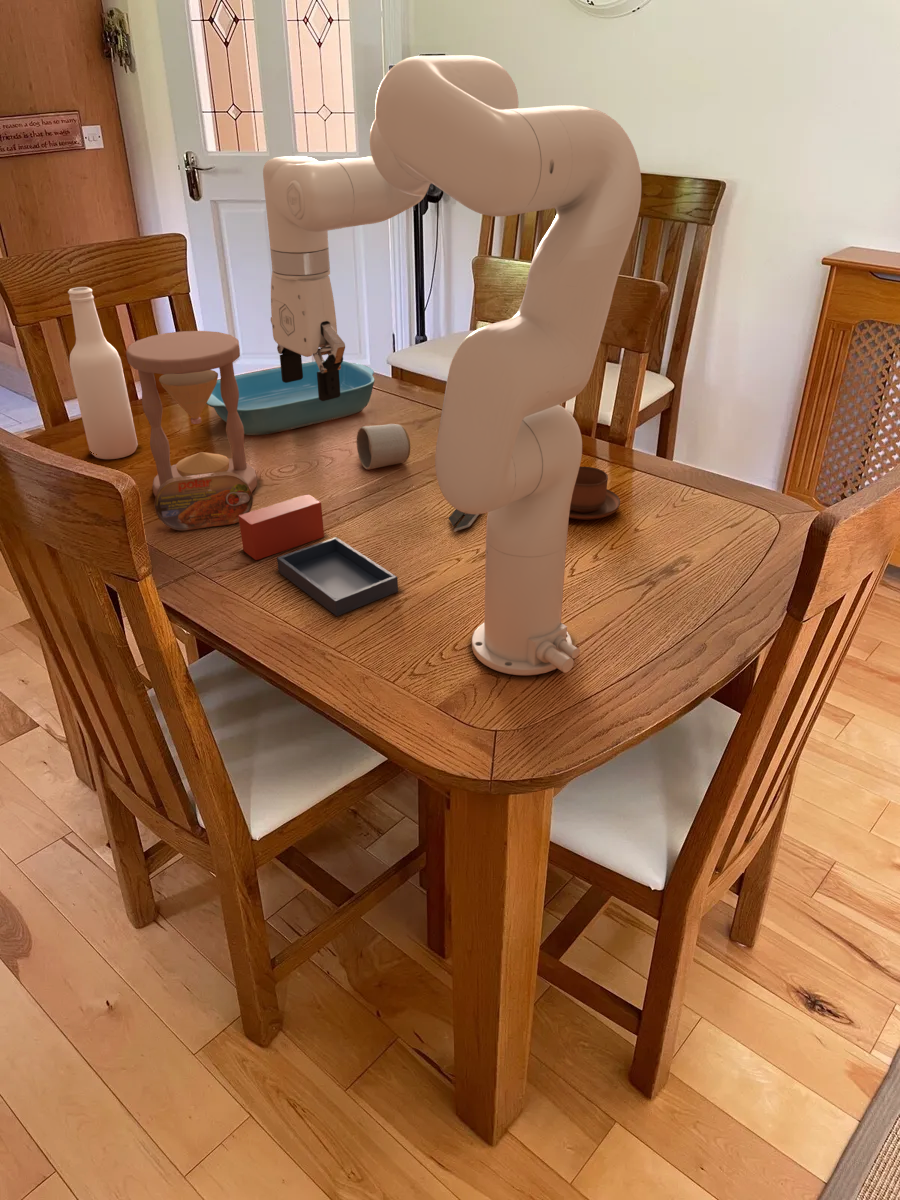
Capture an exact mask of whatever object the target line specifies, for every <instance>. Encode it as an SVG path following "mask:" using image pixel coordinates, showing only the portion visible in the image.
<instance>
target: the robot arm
mask: <svg viewBox="0 0 900 1200" xmlns="http://www.w3.org/2000/svg"><path fill="white" fill-rule="evenodd" d="M376 92H377V93H376V97H375V107H374V108H375V109H374V111H375V112H374V113H375V114H374V115H375V119H374V120H373V122H372V124H371V128H370V131H369V151H370V154H371V155H370V156H366V157H356V158H355V157H354V158H353V157H352V158H343V159H342V158H341V159H332V160H325V161H319V160H317V159H315V158H313V157H308V156H298V155H295V156H292V155H290V156H277V157H273V158H270V159H268V160H266V162H265V163H264V166H263V169H262V176H263V187H264V188H263V189H264V198H265V208H266V209H265V210H266V218H267V219H266V220H267V229H268V239H269V250H270V251H269V252H270V261H271V269H272V271H271V276H270V277H271V279H270V311H271V317H270V323H271V328H272V338H273V340H274V341H275V343H276V344H277V347H276V350H277V353H278V354H279V363H280V368H281V374H282V381H283V382H285V383H288V382H292V381H297V380H301V379H302V378H303V370H302V364H303V359H302V357H306V358H308V357H313V358H314V361H316V363H317V365H318V368H319V370H320V371H319V372H317V382H318V396H319V400H321V401H326V400H330V399H334V398H338V397H340V380H339V370H340V369H341V363H342V362H343V361H344V354H345V350H346V343H345V342H344V341H343V339H342V338H341V336H340V335H339V334H338V324H337V316H336V307H335V299H334V293H333V288H332V283H331V278H330V275H331V266H330V249H329V233H328V231H334V230H335V231H336V230H340V229H345V228H352V227H358V226H366V225H373V224H374V225H375V224H378V223H382V222H384V221H387V220H389V219H392V218H394V217H396V216H397V215H400V214H402V213H404V212H406V211H407V210H409V209H411V208H413V207H414V206H416V205H418V204H419V203H421V201H422V200H424V198H425V197H426V194H427V192H428V191H429V189H430V186H431V185H434V186H435V188H436V187H437V189H439V190H440V191H442V192H444V193H445V194H446V195H447V196H449V197H451V199H453V200H455V201H456V202H458V203H459V204H461V205H462V206H464V207H466V208H467V209H469V210H471V211H473V212H475V213H476V214H477V213H478V214H481V215H484V216H489V217H498V218H499V217H510V216H514V215H515V216H516V215H521V214H527V213H534V212H540V211H546V210H551V209H555V212H556V215H555V218H554V219H553V221H552V223H551V225H550V227H549V228H548V230H547V231H546V233H545V234H544V236H543V237H542V239H541V241H540V242H539V244H538V246H537V248H536V250H535V252H534V255H533V257H532V260H531V263H530V266H529V269H528V274H527V279H526V286H525V290H524V293H523V297H522V300H521V303H520V305H519V308H518V310H517V312H516V313H515V314H514V315H513V316H512V317H510V318H508V319H503V320H501V321H496V322H494V323H491V324H487V325H484V326H482V327H479V328H478V329H475V330H474V331H472V332H471V333H470V334H468V335H467V336H466V337H465V338H464V339H463V340H462V341H461V343H460V344H459V346H458V347H457V349H456V351H455V353H454V354H453V357H452V359H451V362H450V365H449V369H448V374H447V378H446V383H445V388H444V389H445V391H444V397H443V403H442V409H441V414H440V420H439V427H438V433H437V439H436V446H435V454H434V456H435V457H434V469H435V477H436V480H437V484H438V487H439V490H440V492H441V494H442V495H443V497H444V499H445V500H446V502H447V503H448V504H449V505H450V506H451V507H452V508H454V510H456V509H457V510H459V511H461V512H464V513H465V514H479V515H482V514H483V515H484V514H487V516H486V525H485V530H486V531H485V557H484V559H485V562H484V563H485V564H484V565H485V566H484V567H485V568H484V622H482V623H481V624H480V625H478V626H477V628H475V630H474V631H473V633H472V636H471V650H472V652H473V655H474V656H475V657H476V659H477V660H478V661H479V662H481V663H482V664H483V665H484V666H486V667H488V668H490V669H492V670H494V671H497V672H499V673H503V674H507V675H514V676H536V675H542V674H547V673H549V672H551V671H555V670H556V669H558V670H560V671H561V672H562V673H565V674H566V673H569V672H570V671H571V670H572V669H573V667H574V664H575V661H574V659H576V658H578V656H579V655H580V653H581V650H580V648H579V647H577V646H575V645H574V644H573V641H572V637H571V635H570V633H569V632H568V626H567V625H566V624H565V623H562V614H563V600H564V587H565V586H564V585H565V584H564V583H565V572H566V571H565V569H566V559H567V558H566V556H567V542H568V535H569V534H568V533H569V532H568V531H569V522H570V521H569V520H570V518H569V512H570V505H571V499H572V494H573V490H574V486H575V483H576V479H577V475H578V471H579V467H581V462H582V457H583V456H582V455H583V439H582V432H581V429H580V426H579V424H578V422H577V421H576V419H575V417H574V416H573V415H572V413H571V412H570V411H569V410H567V409H566V408H565V407H563V406H562V405H561V404H564V403H566V402H568V401H571V400H572V399H574V398H576V397H578V395H580V394H581V392H582V391H583V390H584V389H585V388H586V386H587V385H588V383H589V381H590V379H591V376H592V373H593V369H594V366H595V362H596V359H597V355H598V352H599V348H600V345H601V341H602V338H603V335H604V330H605V326H606V323H607V319H608V316H609V313H610V308H611V305H612V300H613V296H614V291H615V289H616V285H617V281H618V278H619V275H620V271H621V268H622V265H623V263H624V261H625V260H624V259H625V257H626V254H627V252H628V248H629V246H630V243H631V240H632V237H633V235H634V232H635V229H636V228H635V227H636V224H637V220H638V216H639V212H640V207H641V200H642V175H641V174H642V173H641V167H640V162H639V158H638V156H637V153H636V150H635V149H636V148H635V147H634V145H633V143H632V140H631V138H630V136H629V135H628V134H627V132H626V131H625V129H624V128H623V126H622V125H621V124H619V123H618V122H617V121H616V120H615V119H614V118H612V116H610V115H608V113H605V112H603V111H601V110H598V109H595V108H592V107H588V106H582V105H569V104H566V105H565V104H564V105H563V104H561V105H559V104H558V105H545V106H536V107H535V106H534V107H522V108H521V107H520V108H519V94H518V90H517V86H516V84H515V82H514V80H513V78H512V76H511V75H510V74H509V72H508V71H507V70H506V69H505V68H504V66H502V65H501V64H499V63H498V62H497V61H494V60H492V59H490V58H487V57H484V56H478V55H471V54H470V55H469V54H468V55H467V54H463V55H459V54H458V55H454V54H453V55H415V56H411V57H405V58H404V59H401V60H400V61H398V62H397V63H396V64H395V65H393V66H392V67H391V68H389V70H388V72H387V73H386V74H385V75H384V77H383V78H382V80H381V81H380V84H379V87H378V90H377V91H376ZM326 355H328V356H327V357H326V359H324V357H323V356H326ZM324 360H326V361H325V362H324Z"/></svg>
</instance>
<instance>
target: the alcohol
mask: <svg viewBox="0 0 900 1200" xmlns="http://www.w3.org/2000/svg"><path fill="white" fill-rule="evenodd" d="M67 294H68V295H69V297H68V299H69V301H70V306H71V312H72V319H73V326H74V333H75V344H74V346H73V347H72V350H71V351H70V354H69V368H70V373H71V377H72V382H73V386H74V390H75V394H76V398H77V403H78V407H79V411H80V415H81V420H82V426H83V429H84V433H85V437H86V442H87V445H88V450H89V452H90V451H91V452H92V453H91V452H90V453H91V455H92V456H94V457H95V458H96V459H101V460H115V459H116V460H117V459H122V458H125V457H128V456H131V455H132V454H134V453H136V450H137V448H138V446H139V444H138V439H137V434H136V429H135V423H134V418H133V413H132V409H131V403H130V398H129V394H128V387H127V383H126V379H125V374H124V369H123V364H122V359H121V356H120V354H119V352H118V351H117V349H116V348H115V346H113V345H112V344H111V343H110V342H109V341H107V339H106V337H105V335H104V332H103V331H104V330H103V329H102V324H101V322H100V318H99V315H98V311H97V308H96V303H95V301H94V299H95V296H94V295H93V289H92V288H91V287H88V286H77V287H72V288H69V290H68V291H67ZM93 453H94V454H93ZM96 454H97V455H96Z"/></svg>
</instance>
